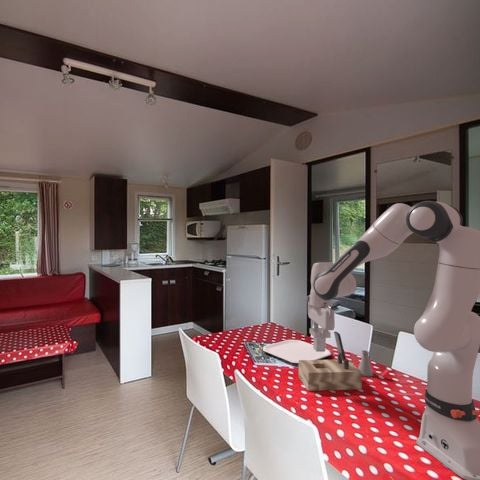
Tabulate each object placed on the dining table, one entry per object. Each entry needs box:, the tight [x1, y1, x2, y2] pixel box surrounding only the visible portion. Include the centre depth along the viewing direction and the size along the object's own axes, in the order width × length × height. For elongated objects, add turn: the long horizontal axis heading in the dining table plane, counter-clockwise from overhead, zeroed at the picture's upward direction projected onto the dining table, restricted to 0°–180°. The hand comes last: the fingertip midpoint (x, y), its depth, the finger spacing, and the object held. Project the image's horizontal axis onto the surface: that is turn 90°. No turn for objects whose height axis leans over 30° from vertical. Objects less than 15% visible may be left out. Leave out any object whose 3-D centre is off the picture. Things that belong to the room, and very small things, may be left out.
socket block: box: [297, 353, 363, 392], centre depth 132 cm, size 22×13×10 cm, turn 96°
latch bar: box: [333, 331, 346, 361], centre depth 132 cm, size 12×4×1 cm
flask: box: [357, 350, 374, 378], centre depth 142 cm, size 7×7×10 cm
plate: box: [262, 339, 332, 365], centre depth 165 cm, size 29×29×2 cm
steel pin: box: [309, 327, 332, 352], centre depth 128 cm, size 6×6×8 cm
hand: (319, 334), depth 128 cm, fingers closed on steel pin, 6 cm apart
